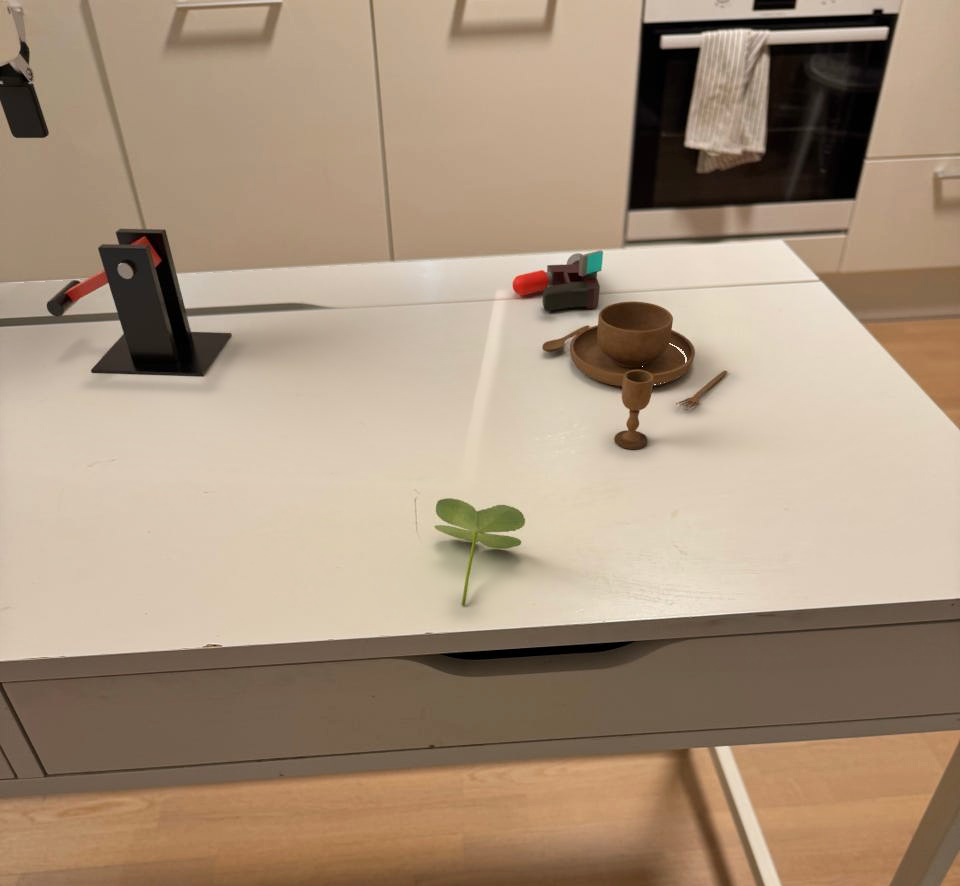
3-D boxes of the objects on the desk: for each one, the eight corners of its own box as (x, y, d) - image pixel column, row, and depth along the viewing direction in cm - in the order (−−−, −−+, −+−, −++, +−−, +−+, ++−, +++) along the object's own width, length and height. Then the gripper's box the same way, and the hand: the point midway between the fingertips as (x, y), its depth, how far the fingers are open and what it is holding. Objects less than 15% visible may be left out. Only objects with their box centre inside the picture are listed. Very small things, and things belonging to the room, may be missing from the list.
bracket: (94, 381, 83) (51, 255, 75) (130, 341, 90) (94, 220, 82) (205, 385, 82) (173, 257, 74) (233, 344, 89) (207, 222, 81)
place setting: (741, 365, 84) (754, 305, 80) (643, 454, 72) (652, 389, 68) (586, 322, 92) (590, 265, 88) (474, 397, 80) (473, 335, 76)
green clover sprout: (466, 628, 64) (481, 546, 66) (537, 616, 58) (552, 526, 60) (386, 598, 60) (404, 511, 62) (453, 581, 54) (471, 486, 56)
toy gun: (589, 271, 102) (592, 227, 99) (605, 312, 94) (610, 267, 90) (507, 273, 102) (508, 230, 99) (516, 315, 93) (517, 270, 90)
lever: (58, 323, 82) (39, 300, 80) (80, 302, 85) (63, 279, 84) (148, 275, 78) (130, 249, 76) (167, 254, 81) (150, 230, 80)
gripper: (-75, -122, 68) (12, 126, 79) (-226, -109, 55) (-97, 183, 67) (16, -125, 67) (90, 126, 79) (-116, -112, 55) (-6, 183, 66)
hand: (4, 152), depth 73 cm, fingers open, 9 cm apart
